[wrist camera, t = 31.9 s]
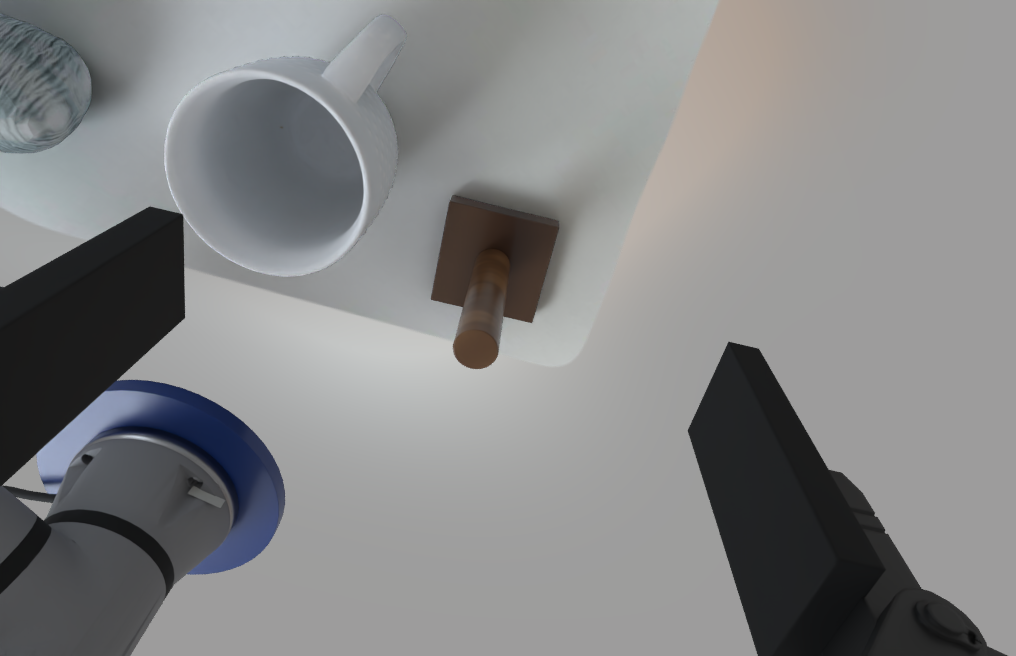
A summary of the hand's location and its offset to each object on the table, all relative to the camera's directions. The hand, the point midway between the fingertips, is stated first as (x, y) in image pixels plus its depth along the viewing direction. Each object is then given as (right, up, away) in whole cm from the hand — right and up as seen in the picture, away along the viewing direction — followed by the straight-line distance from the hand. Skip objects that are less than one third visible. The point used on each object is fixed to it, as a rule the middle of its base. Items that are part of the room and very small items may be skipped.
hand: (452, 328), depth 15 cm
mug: (-10, +15, +29) cm, 34 cm away
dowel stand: (0, +5, +33) cm, 34 cm away
